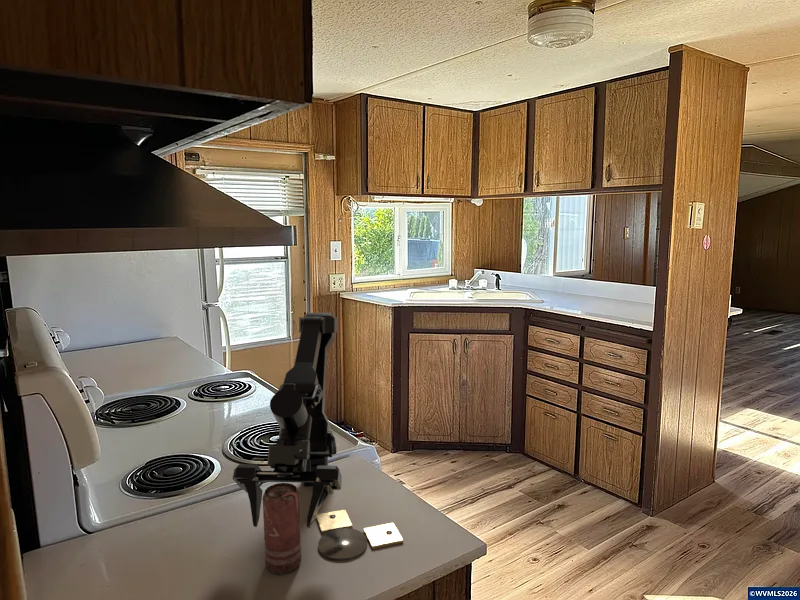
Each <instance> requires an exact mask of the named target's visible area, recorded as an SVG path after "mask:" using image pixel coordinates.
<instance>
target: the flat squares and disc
mask: <svg viewBox="0 0 800 600" xmlns="http://www.w3.org/2000/svg"><path fill="white" fill-rule="evenodd" d="M315 518H316V522H317V524H318V526H319V529H320V532H321V534H322V536H321V537H320V538H319V541H318V551H319V553H320V554H321V555H322V556H323V557H325V558H326V559H329V560H334V561H347V560H348V561H349V560H352V559H355V558H357V557H359V556H362V554H363V553H364V552H365V551H366V550H367V547H368V543H369V545H370V547H371V549H372V550H375V549H380V548H386V547H389V546H394V545H398V544H399V545H400V544H403V543H404V539H403V537H402V535H401V534H400V532H399V530H398V528H397V527H396V524H395V523H394V522H390V523H385V524H379V525H375V526H369V527H364V528H363V532H362V531H360V530H357V529H355V528H353V524H352V522H351V519H350V518H349V514H348V513H347V511H346V509H341V510H340V509H339V510H334V511H329V512H324V513H323V512H322V513H317V514H316V516H315Z"/></svg>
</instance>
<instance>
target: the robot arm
mask: <svg viewBox="0 0 800 600" xmlns="http://www.w3.org/2000/svg"><path fill="white" fill-rule="evenodd" d="M338 320H339V319H338V317H337V316H336V317H334V314H333V312H306V314H305V315H303V316H300V317H298V333H300V335H299V340H298V345H297V350H296V355H295V358H294V364H293V366H292V368H291V369H289V370H288V371H287V372H286V373H285V375H284V376H285V377H284V378H283V383H282V384H280V386H279V388H278V390H277V392H275V393H274V394H273V396H272V397H271V399H270V402H269V407H270V410H271V413H272V414H273V417H274V419H275V421H276V423H277V425H278V426H279V427H280V428H279V434H278V438H277V440H276V443H275V445H268V451H267V452H268V453H267V465H268V466H269V467H270V468H271V469H273V470H262V469H261V467H260V466H259V465H258V464H254V463H253V464H252V463H239V464H237V466H236V467H235V468H234V470H233V475H232V480H233V481H234V482H235V483H236V485H237V486H238V487H239V488H241V489H243V490H244V492H245V493H247V497H248V500H249V505H250V512H251V519H252V526H253V527H254V528H257V527H258V524H259V519H260V513H261V506H262V501H263V493H264V492H263V491H264V490H263V489H262V488H261V486H262V485H263V483H302V484H303V486H304V487H308V486H312V494H311V499H310V504H309V507H308V513H307V518H306V529H310V528H311V526H312V524H313V523H314V520H315V518H316V515H317V514H318V512H319V510H320V508H321V506H322V505H323V503H324V502H325V501H326V499H327V497H328V496H329V495H333V494H334V491H339V490H342V483H343V481H342V480H343V478H342V477H343V476H342V473H341V471H340V468H339V467H338V466H337V465H329V458H333V456H334V455H336V454H337V451H338V450H337V443H336V442H337V441H336V437H335V435H334V432H333V430H331V427H332V426H331V423H330V421H329V418H328V417H327V415H326V413H325V407H326V406H325V404H326V403H325V401H326V387H327V386H326V385H327V365H328V350H329V349H330V347H332V344H333V343H334V342H335V340H336V338H335V337H336V333H338V329H339V327H338V326H339V321H338Z"/></svg>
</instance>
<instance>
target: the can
mask: <svg viewBox="0 0 800 600" xmlns="http://www.w3.org/2000/svg"><path fill="white" fill-rule="evenodd" d="M262 512H263V513H262V514H263V518H262V519H263V535H264V536H263V537H264V538H263V539H264V554H265V556H264V557H265V559H264V560H265V565H266V566H265V567H266V568H267V569H268V571H270V572H271V573H272V574H276V575H285V574H289V573H291V572H293V571H295V570H296V569H297V568H298V567H299V566H300V563H301V562H302V547H301V546H302V545H301V516H300V514H301V513H300V512H301V511H300V492H299V491H298V489H297V486H296V485H294V484H293V483H291V482H277V483H275V484H272V485H270V486H268V487H267V488H266V489H265V490H264V492H263V494H262Z"/></svg>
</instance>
